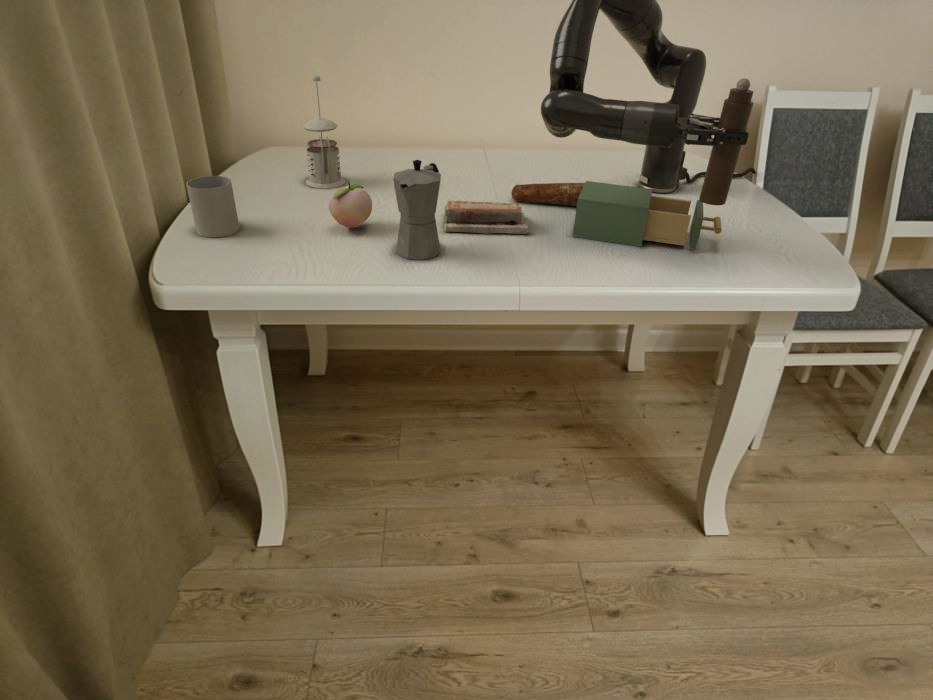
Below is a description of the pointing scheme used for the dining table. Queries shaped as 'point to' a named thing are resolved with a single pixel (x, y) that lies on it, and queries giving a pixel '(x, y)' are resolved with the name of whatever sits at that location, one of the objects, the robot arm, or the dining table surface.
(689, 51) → the robot arm
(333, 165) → the french press
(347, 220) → the decorative fruit
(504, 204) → the packaged product
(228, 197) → the cup
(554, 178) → the dining table surface
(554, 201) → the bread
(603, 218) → the cabinet
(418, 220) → the coffeepot
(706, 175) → the pepper mill
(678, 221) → the drawer
